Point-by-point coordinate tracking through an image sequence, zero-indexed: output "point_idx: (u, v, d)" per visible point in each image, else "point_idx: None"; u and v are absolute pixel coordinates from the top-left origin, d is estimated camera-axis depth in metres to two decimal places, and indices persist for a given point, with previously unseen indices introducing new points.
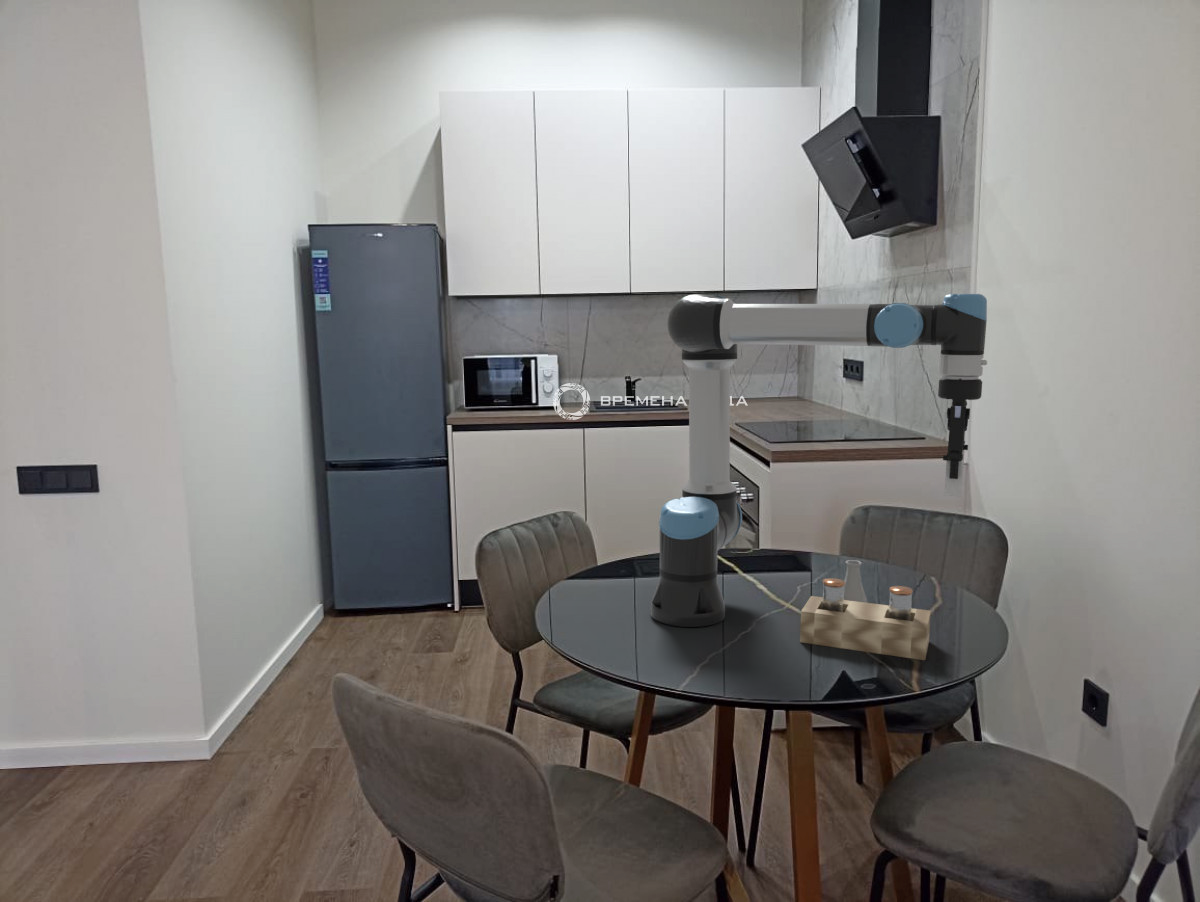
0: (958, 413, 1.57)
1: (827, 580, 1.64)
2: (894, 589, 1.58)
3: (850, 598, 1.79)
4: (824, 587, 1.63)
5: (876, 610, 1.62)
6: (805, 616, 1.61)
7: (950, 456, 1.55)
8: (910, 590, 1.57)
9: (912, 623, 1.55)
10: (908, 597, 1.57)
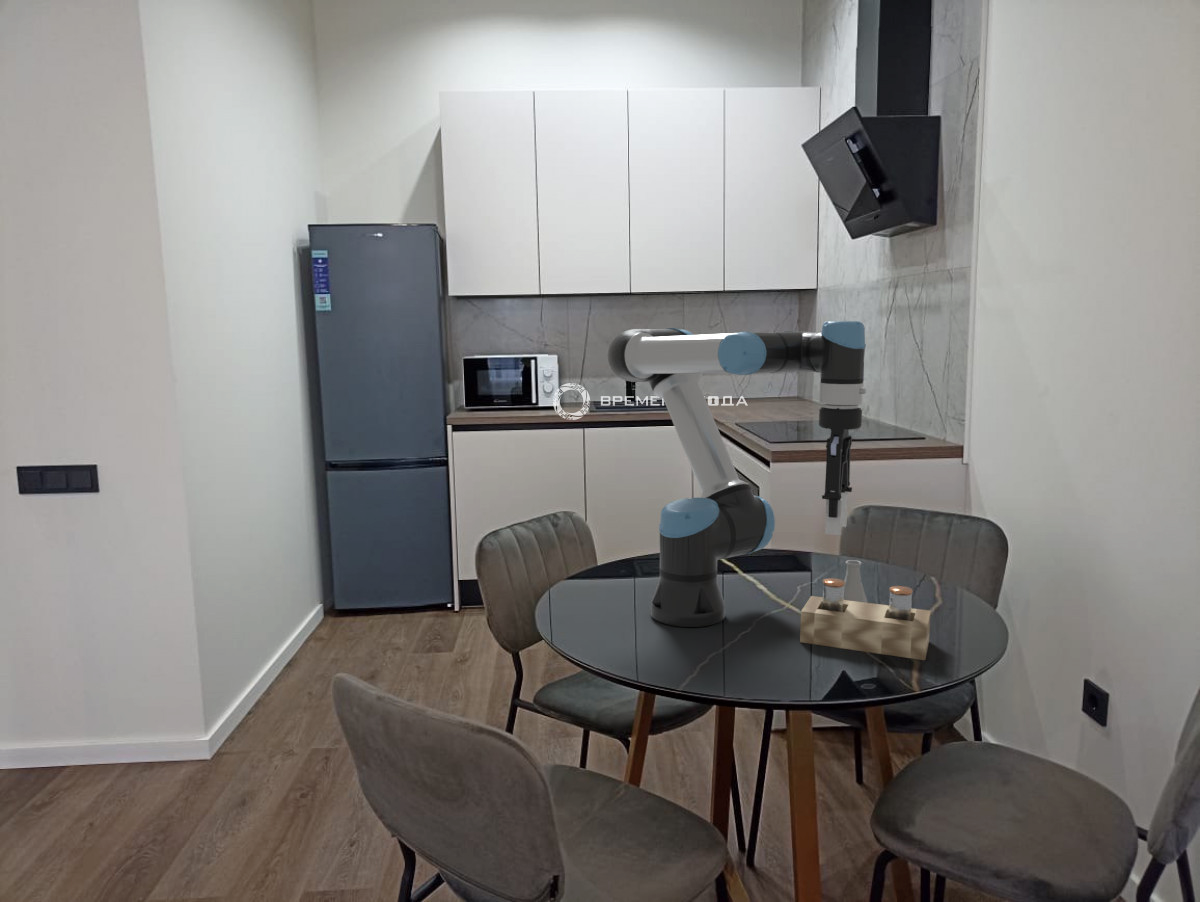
0: (834, 451, 1.53)
1: (827, 580, 1.64)
2: (894, 589, 1.58)
3: (850, 598, 1.79)
4: (824, 587, 1.63)
5: (876, 610, 1.62)
6: (805, 616, 1.61)
7: (827, 495, 1.55)
8: (910, 590, 1.57)
9: (912, 623, 1.55)
10: (908, 597, 1.57)
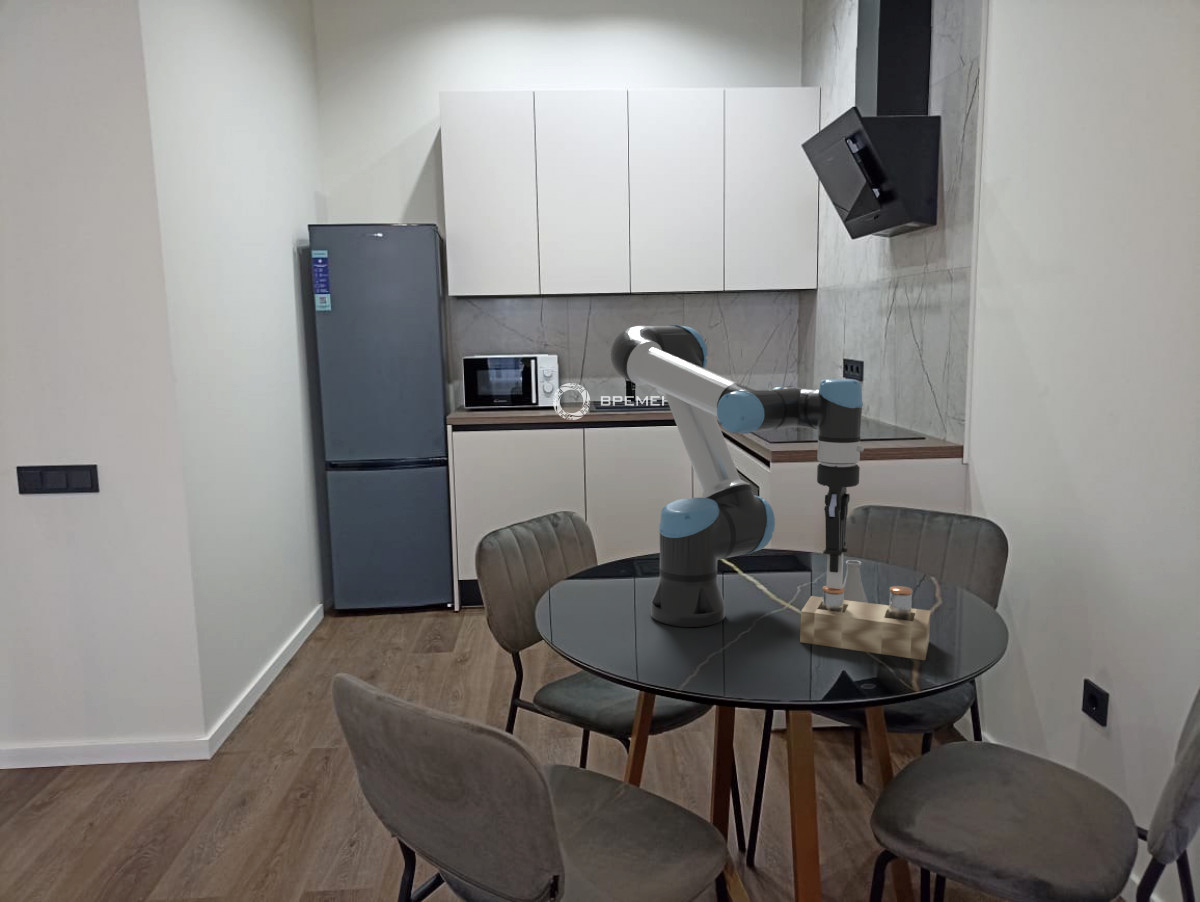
0: (832, 514, 1.56)
1: None
2: (894, 589, 1.58)
3: (850, 598, 1.79)
4: (824, 594, 1.63)
5: (876, 610, 1.62)
6: (805, 616, 1.61)
7: (828, 551, 1.59)
8: (910, 590, 1.57)
9: (912, 623, 1.55)
10: (908, 597, 1.57)
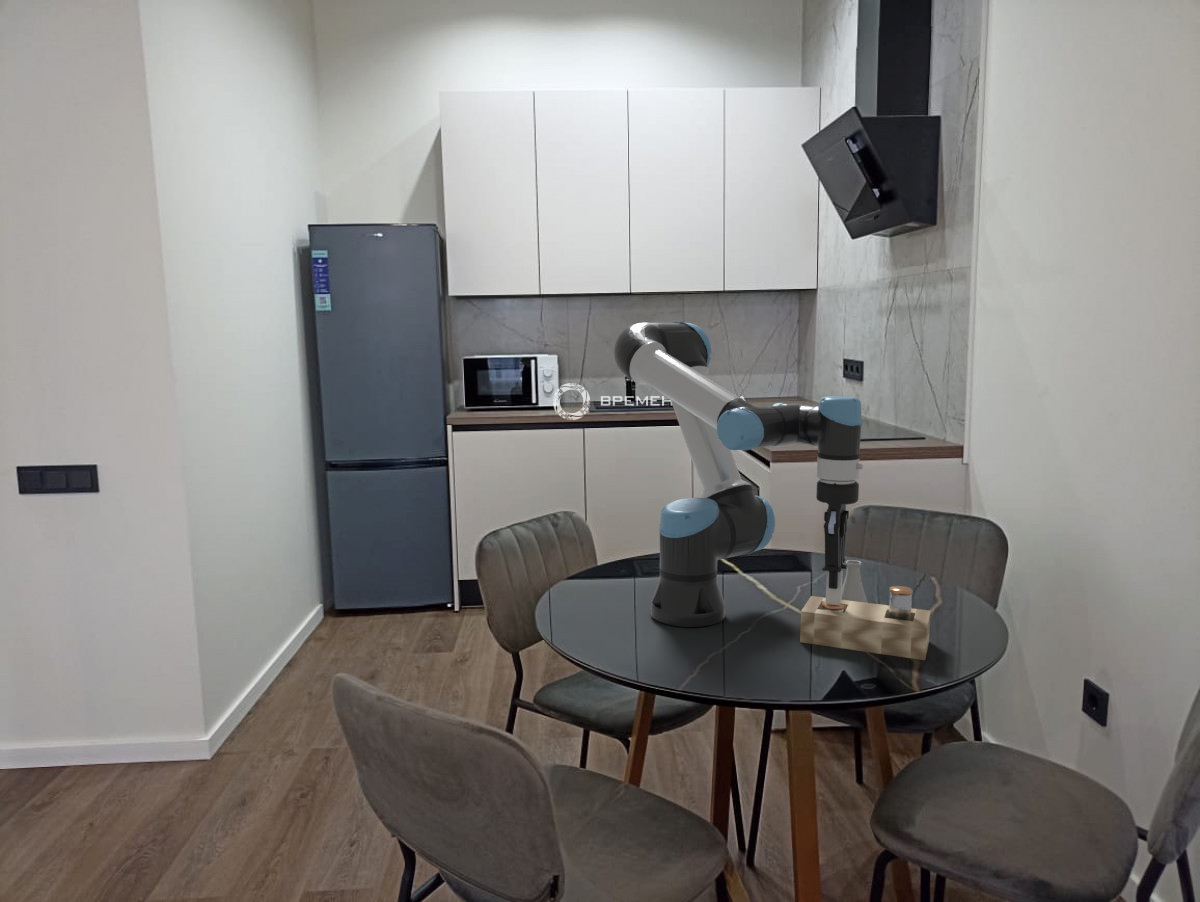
0: (831, 532, 1.56)
1: None
2: (894, 589, 1.58)
3: (850, 598, 1.79)
4: None
5: (876, 610, 1.62)
6: (805, 616, 1.61)
7: (828, 568, 1.59)
8: (910, 590, 1.57)
9: (912, 623, 1.55)
10: (908, 597, 1.57)
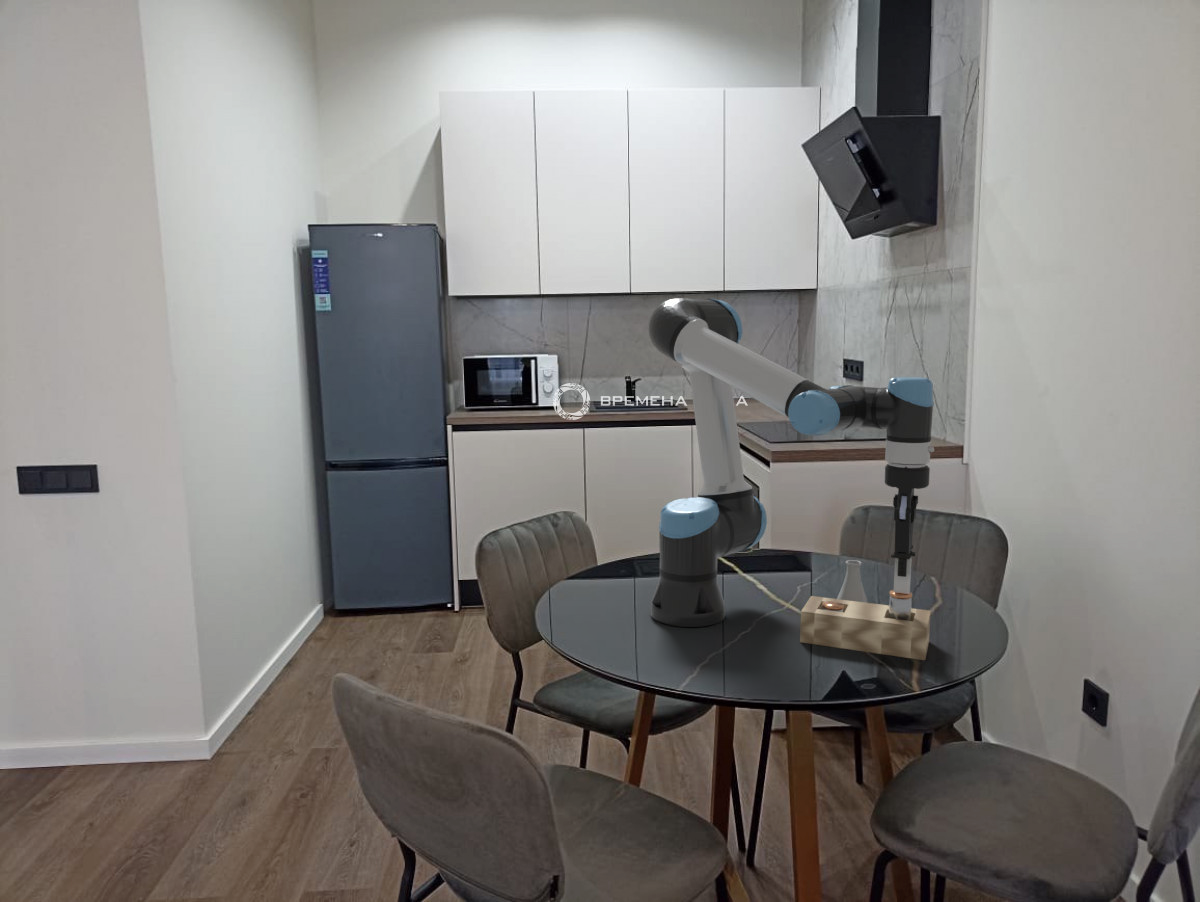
0: (903, 517, 1.51)
1: (826, 603, 1.64)
2: (894, 593, 1.58)
3: (850, 598, 1.79)
4: None
5: (876, 610, 1.62)
6: (805, 616, 1.61)
7: (897, 555, 1.54)
8: (910, 594, 1.58)
9: (912, 623, 1.55)
10: (908, 601, 1.57)
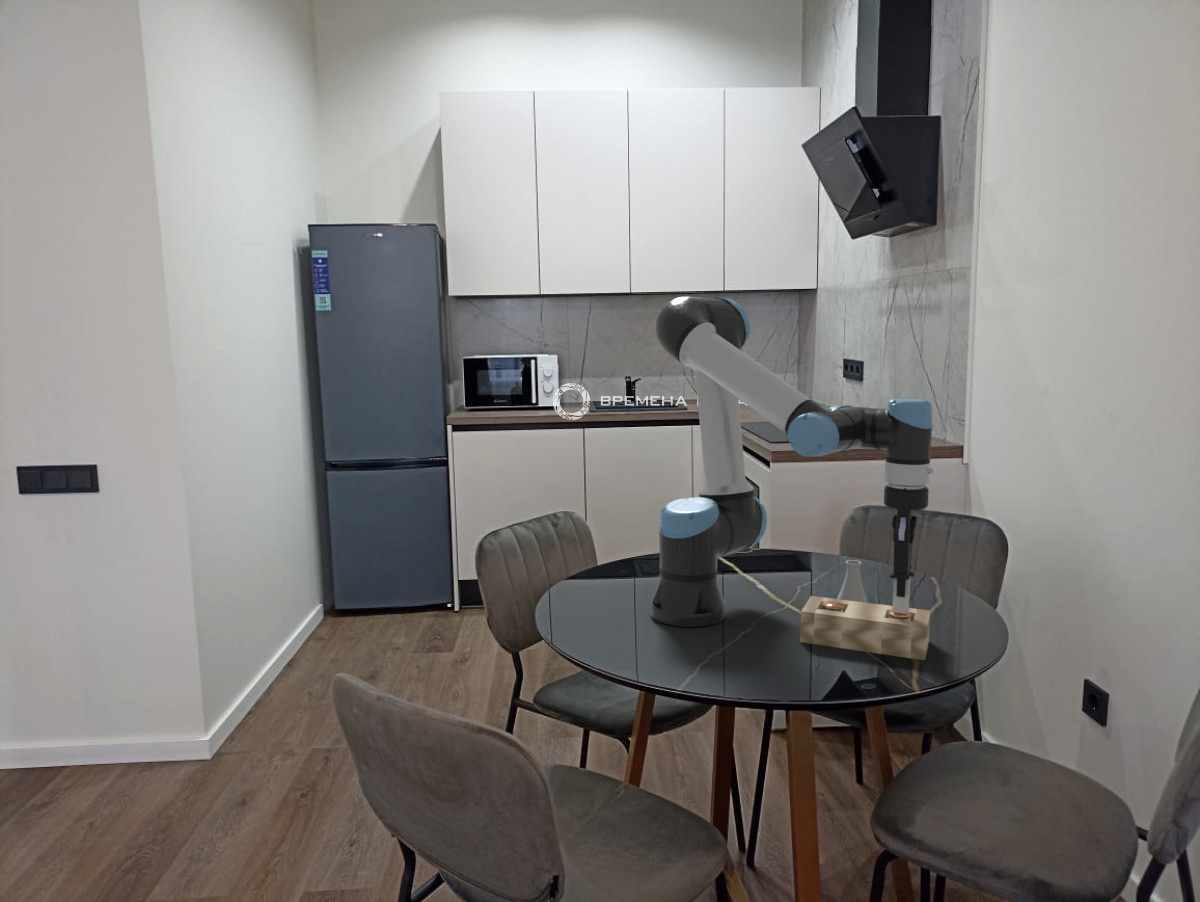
0: (902, 538, 1.51)
1: (826, 603, 1.64)
2: (893, 613, 1.59)
3: (850, 598, 1.79)
4: None
5: (876, 610, 1.62)
6: (805, 616, 1.61)
7: (896, 576, 1.55)
8: (909, 614, 1.58)
9: (912, 623, 1.55)
10: None
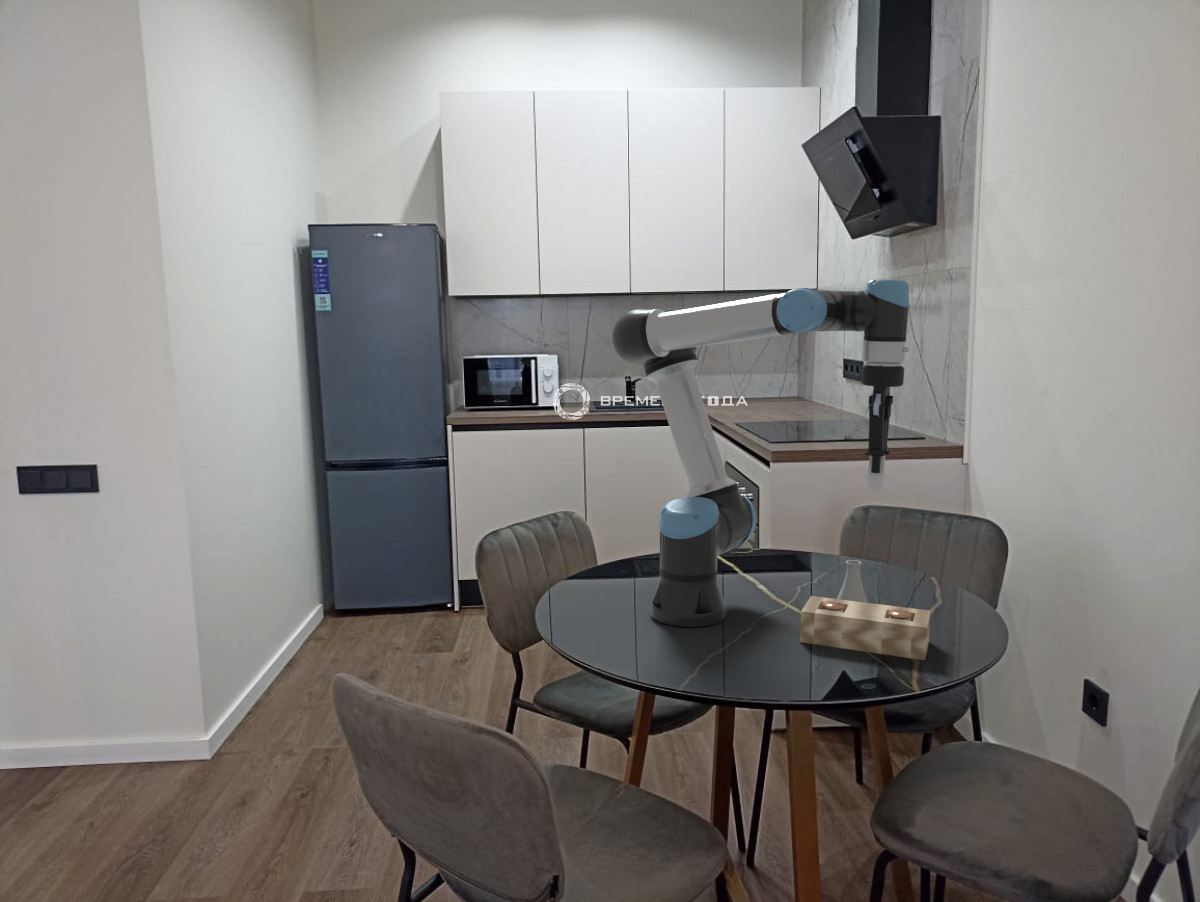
0: (876, 412, 1.57)
1: (826, 603, 1.64)
2: (893, 613, 1.59)
3: (850, 598, 1.79)
4: None
5: (876, 610, 1.62)
6: (805, 616, 1.61)
7: (871, 451, 1.60)
8: (909, 614, 1.58)
9: (912, 623, 1.55)
10: None
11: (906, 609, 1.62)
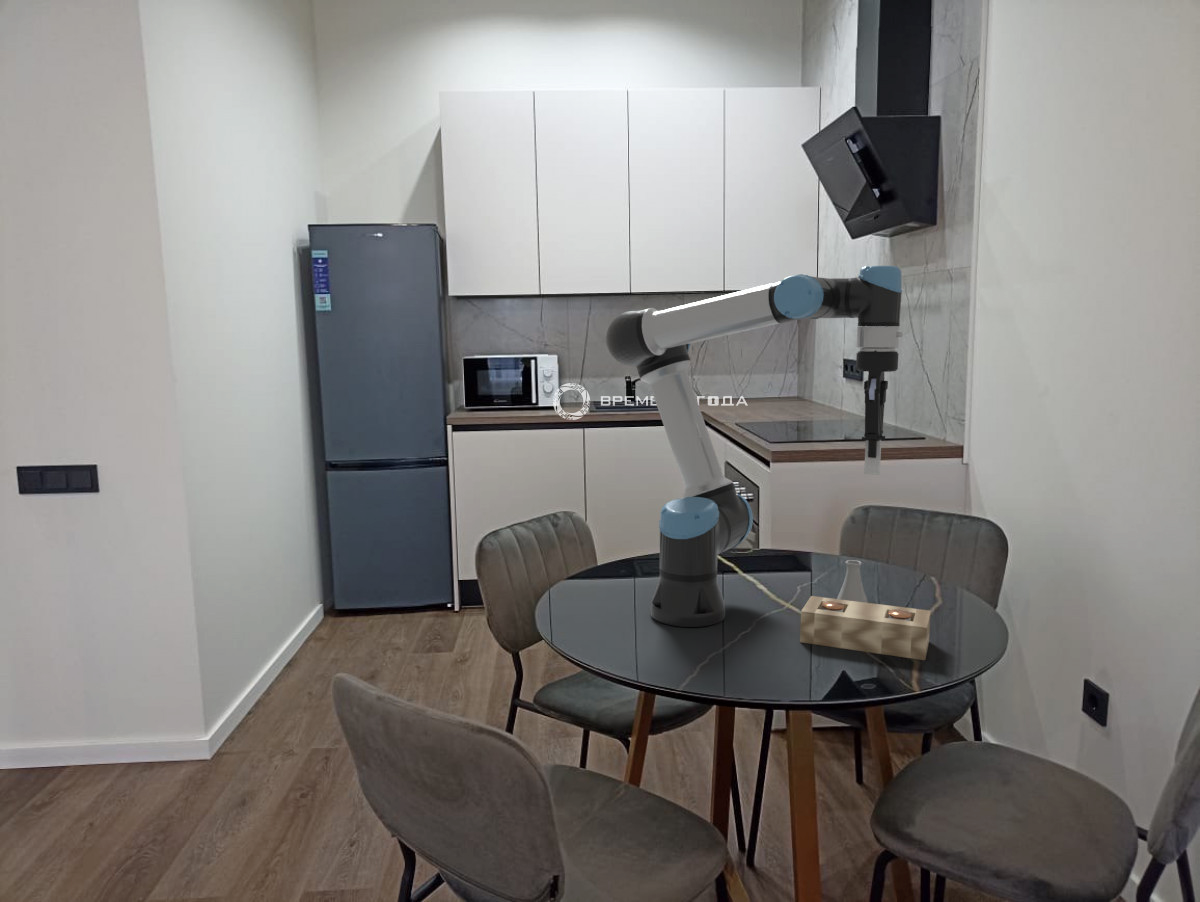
0: (872, 397, 1.59)
1: (826, 603, 1.64)
2: (893, 613, 1.59)
3: (850, 598, 1.79)
4: None
5: (876, 610, 1.62)
6: (805, 616, 1.61)
7: (867, 436, 1.62)
8: (909, 614, 1.58)
9: (912, 623, 1.55)
10: None
11: (906, 609, 1.62)
